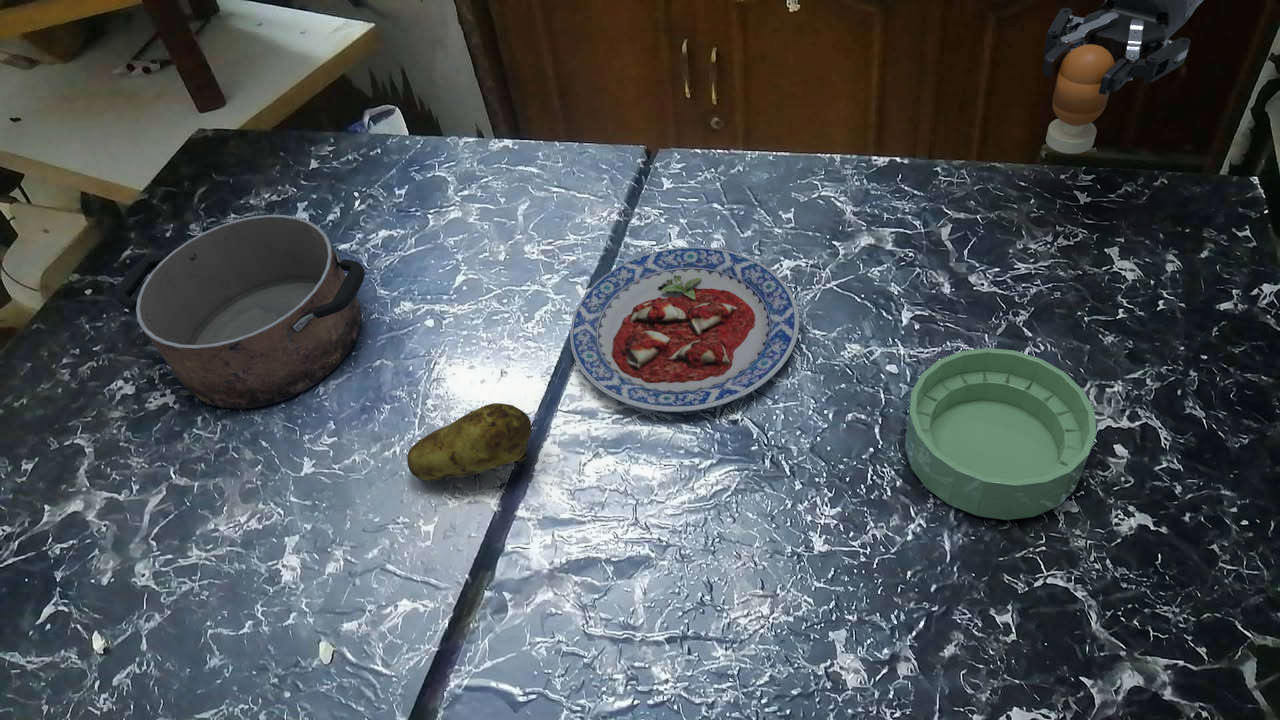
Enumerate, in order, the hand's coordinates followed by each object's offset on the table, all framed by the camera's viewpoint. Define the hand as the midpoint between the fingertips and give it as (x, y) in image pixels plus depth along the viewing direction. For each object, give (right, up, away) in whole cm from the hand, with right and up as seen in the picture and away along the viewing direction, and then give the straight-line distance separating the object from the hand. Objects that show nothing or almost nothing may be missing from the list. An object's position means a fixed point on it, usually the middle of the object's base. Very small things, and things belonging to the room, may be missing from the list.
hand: (1076, 77), depth 93 cm
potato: (-61, -40, +4) cm, 72 cm away
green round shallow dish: (-10, -37, -3) cm, 39 cm away
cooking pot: (-89, -26, +21) cm, 95 cm away
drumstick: (+3, -5, +8) cm, 9 cm away
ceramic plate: (-39, -26, +13) cm, 48 cm away
